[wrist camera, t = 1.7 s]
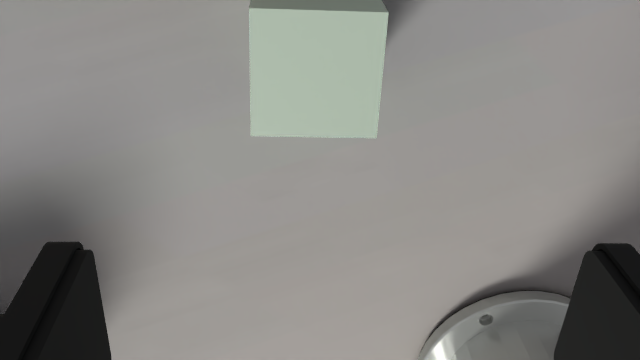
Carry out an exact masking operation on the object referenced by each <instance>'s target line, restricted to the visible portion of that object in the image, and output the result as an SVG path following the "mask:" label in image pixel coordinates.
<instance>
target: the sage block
mask: <svg viewBox="0 0 640 360" xmlns="http://www.w3.org/2000/svg"><path fill="white" fill-rule="evenodd" d="M388 14H389V12H388V10H387V9H386V7H385V5H384V4H383V2H382V0H251V1H250V6H249V46H250V117H251V136H274V137H333V138H377V128H378V118H379V108H380V97H381V87H382V76H383V66H384V55H385V45H386V35H387V24H388Z"/></svg>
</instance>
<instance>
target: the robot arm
mask: <svg viewBox="0 0 640 360" xmlns="http://www.w3.org/2000/svg"><path fill="white" fill-rule="evenodd" d="M0 360H111V352H110V346H109V340H108V334H107V329H106V323H105V317H104V311H103V306H102V300H101V294H100V288H99V283H98V277H97V271H96V265H95V259H94V255H93V252H92V251H91V250H84V249H83V246H82V244H81V243H80V242H47V243H46V244H45V245H44V246H43V248H42V250H41V252H40V253H39V255H38V257H37V259H36V260H35V262H34V264H33V266H32V267H31V269H30V271H29V273H28V274H27V276H26V278H25V280H24V281H23V283H22V285H21V286H20V288H19V290H18V292H17V293H16V295H15V297H14V299H13V300H12V302H11V304H10V306H9V307H8V309H7V311H6V313H5V314H0ZM418 360H640V254H639V253H638V252H637V251H636V250H635V248H634V247H632V246H631V245H630V244H608V243H600V244H597V245H596V246H595V247H594V248H593V250H592V251H588V252H587V253H586V254H585V255H584V258H583V261H582V264H581V267H580V270H579V274H578V277H577V280H576V283H575V286H574V290H573V293H572V296H571V299H570V298H568V297H565V296H562V295H559V294H555V293H549V292H542V291H518V292H511V293H505V294H500V295H496V296H493V297H489V298H486V299H483V300H480V301H478V302H476V303H474V304H472V305H469V306H467V307H465V308H463V309H462V310H460V311H459V312H457V313H456V314H454V315H452V316H451V317H449V318H448V319H447V320H446V321H445V322H444V323H443V324H441V325H440V326H439V327H438V328H437V329H436V330H435V331H434V332H433V334H432V335H431V336H430V338H429V339H428V340H427V341H426V343H425V345H424V347H423V349H422V351H421V353H420V355H419V358H418Z"/></svg>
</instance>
